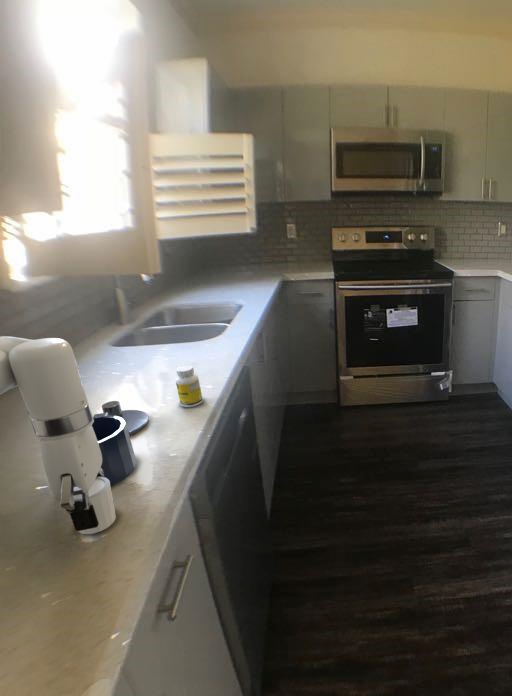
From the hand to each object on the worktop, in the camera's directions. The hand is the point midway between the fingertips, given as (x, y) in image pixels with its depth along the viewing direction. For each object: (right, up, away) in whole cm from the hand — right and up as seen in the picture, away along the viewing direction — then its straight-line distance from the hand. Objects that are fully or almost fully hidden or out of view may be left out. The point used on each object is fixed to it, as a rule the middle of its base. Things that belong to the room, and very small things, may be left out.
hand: (93, 512), depth 77 cm
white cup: (0, -2, +1) cm, 2 cm away
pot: (-8, +3, +14) cm, 16 cm away
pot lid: (-14, +11, +31) cm, 35 cm away
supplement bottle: (-1, +15, +42) cm, 45 cm away
